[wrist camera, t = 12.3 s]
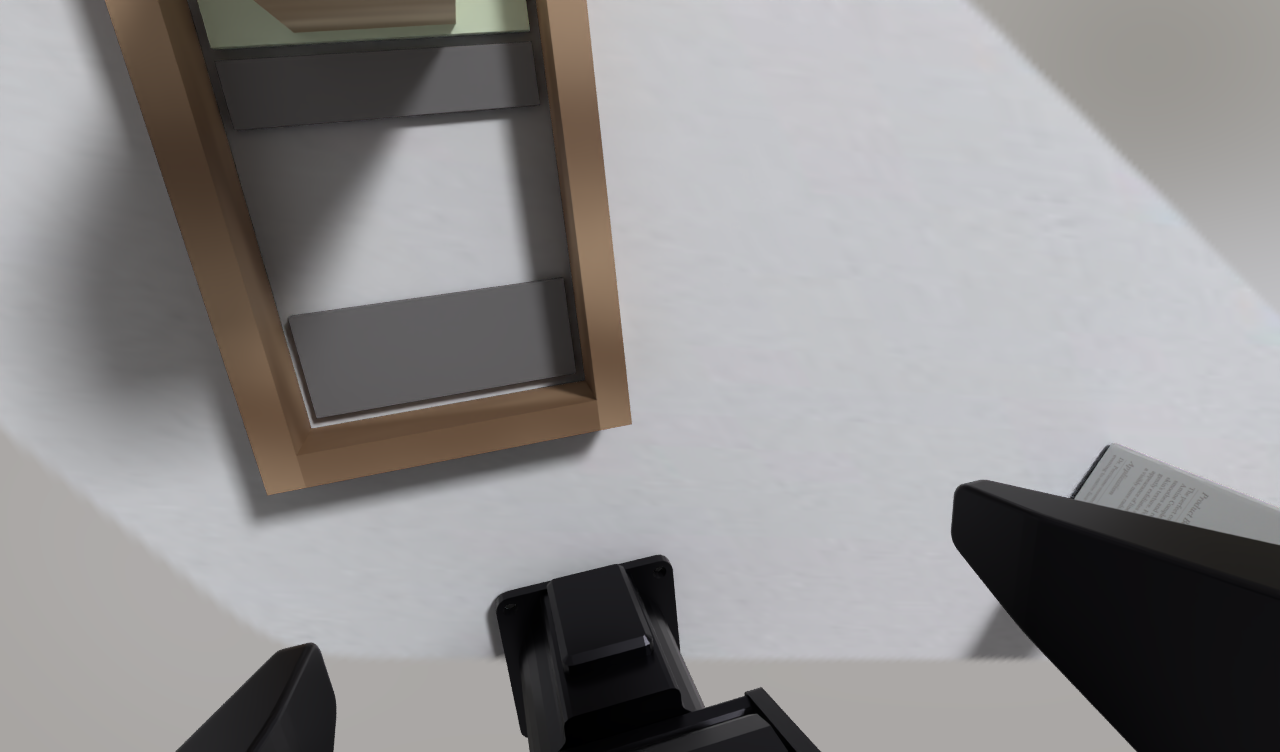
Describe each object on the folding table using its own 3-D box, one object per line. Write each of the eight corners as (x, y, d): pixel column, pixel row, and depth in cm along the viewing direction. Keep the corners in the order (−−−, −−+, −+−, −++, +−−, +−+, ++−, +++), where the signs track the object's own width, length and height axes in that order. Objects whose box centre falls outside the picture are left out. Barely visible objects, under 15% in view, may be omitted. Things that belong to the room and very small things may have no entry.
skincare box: (1087, 573, 31) (1436, 800, 20) (1030, 546, 30) (1375, 776, 18) (1163, 466, 30) (1573, 641, 19) (1108, 431, 29) (1522, 601, 17)
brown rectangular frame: (617, 402, 22) (632, 424, 20) (285, 464, 20) (267, 495, 18) (549, -195, 16) (560, -240, 15) (76, -203, 14) (19, -258, 12)
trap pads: (574, 370, 21) (576, 372, 21) (318, 414, 20) (316, 418, 19) (530, 43, 18) (531, 41, 18) (218, 62, 16) (214, 60, 16)
